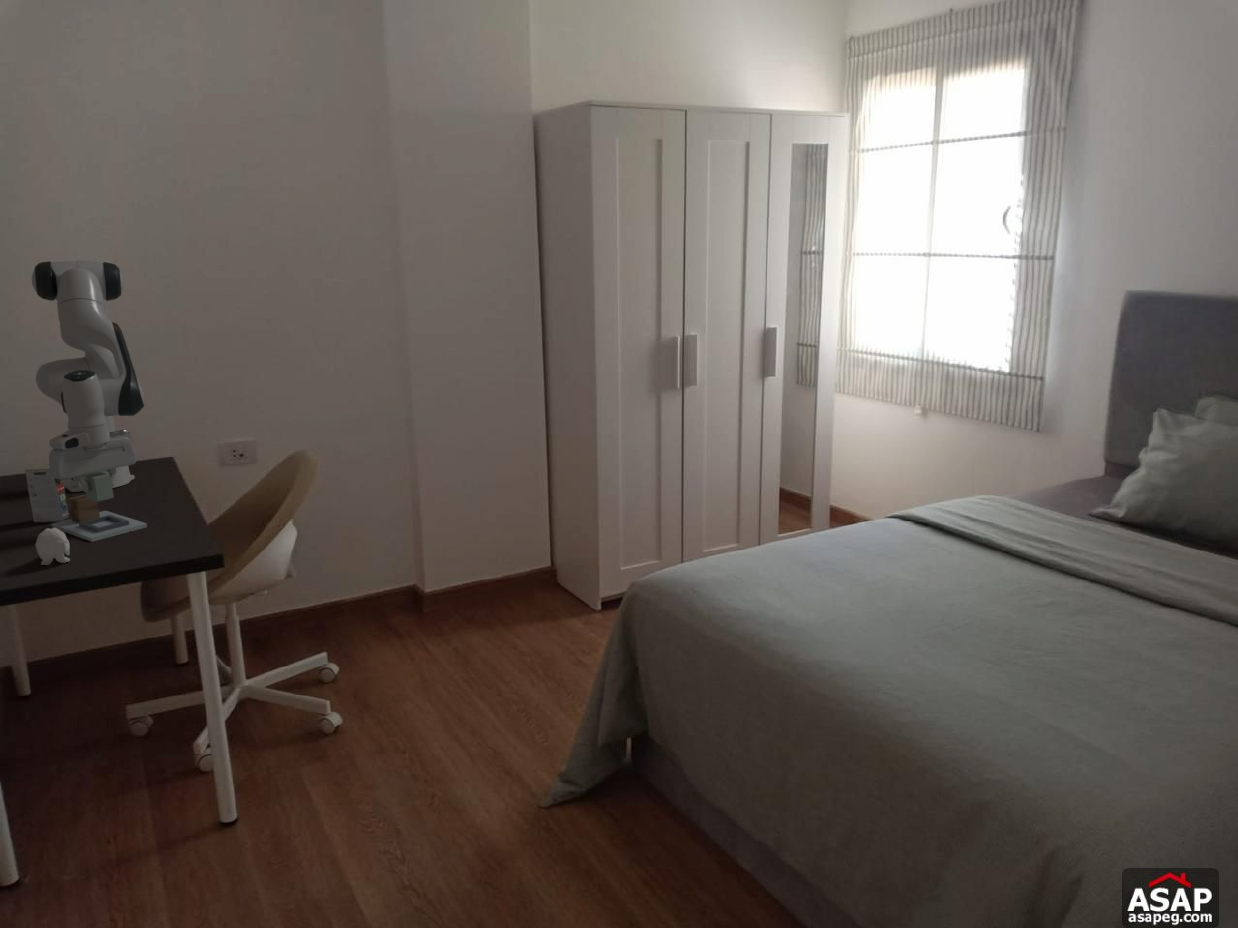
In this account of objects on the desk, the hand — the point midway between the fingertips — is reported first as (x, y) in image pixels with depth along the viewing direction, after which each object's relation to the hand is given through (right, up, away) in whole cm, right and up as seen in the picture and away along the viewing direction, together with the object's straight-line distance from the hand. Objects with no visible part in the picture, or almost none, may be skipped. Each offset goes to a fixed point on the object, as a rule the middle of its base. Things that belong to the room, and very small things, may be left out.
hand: (98, 488), depth 247 cm
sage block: (0, -2, 0) cm, 2 cm away
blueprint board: (-2, -10, +4) cm, 11 cm away
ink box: (-19, -9, +12) cm, 24 cm away
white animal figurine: (+1, -16, -20) cm, 26 cm away
